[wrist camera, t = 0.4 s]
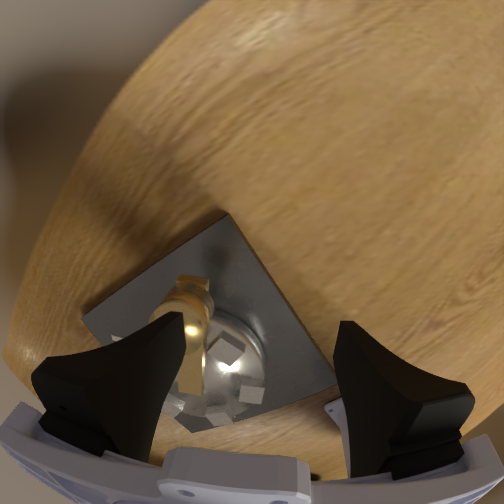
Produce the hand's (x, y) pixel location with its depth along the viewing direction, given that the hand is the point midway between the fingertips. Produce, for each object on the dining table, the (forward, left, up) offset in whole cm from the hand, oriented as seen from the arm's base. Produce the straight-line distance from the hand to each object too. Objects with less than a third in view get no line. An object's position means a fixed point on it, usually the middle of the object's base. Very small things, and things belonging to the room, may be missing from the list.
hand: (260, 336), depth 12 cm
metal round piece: (-3, +8, -8) cm, 12 cm away
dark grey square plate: (-4, +9, -9) cm, 14 cm away
